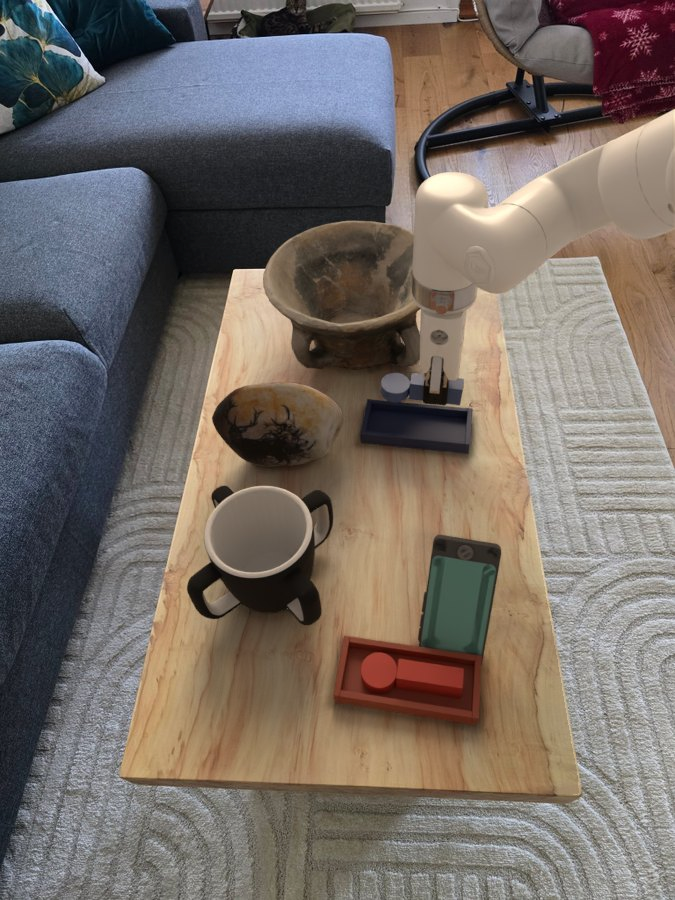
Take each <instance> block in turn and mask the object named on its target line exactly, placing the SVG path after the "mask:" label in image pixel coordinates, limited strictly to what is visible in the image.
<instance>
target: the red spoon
mask: <svg viewBox="0 0 675 900" xmlns="http://www.w3.org/2000/svg"><path fill="white" fill-rule="evenodd" d="M463 676H464V668H457V667H450V666H444V665H437V664H430V663H424V662H417V661H410V660H404V659H399V660H398V668H397V665H396V663H395V661H394V660H393V658H392V657H390V656H389V655H387V654H385V653H380V652H378V653H373V654H370V655H369V656H367V657H366V658H365V659H364V661H363V662H362V665H361V679H362V682H363V685H364V686H365V687H366V688H367V689H368V690H369V691H370V692H373V693H376V694H383V693H386V692H389V691H390V690H391V689H392V688H393V687H394V686H395V684H396V689H403V690H409V691H415V692H422V693H428V694H434V695H441V696H447V697H454V698H461V694H462V689H463Z"/></svg>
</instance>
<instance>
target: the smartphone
mask: <svg viewBox="0 0 675 900" xmlns="http://www.w3.org/2000/svg"><path fill="white" fill-rule="evenodd" d="M432 540H433V541H432V548H431V554H430V562H429V569H428V576H427V582H426V583H427V584H426V590H425V592H424V593H423V598H422V605H421V612H422V613H421V615H420V621H419V627H418V628H419V629H418V634H417V640H418V646H419V647H425V648H432V649H439V650H446V651H453V652H459V653H466V654H473V655H480V656H482V662H481V667H482V666H483V662H484V661H483V660H484V655H485V650H486V645H487V638H488V634H489V633H488V632H489V627H490V622H491V621H490V620H491V615H492V610H493V605H494V599H495V593H496V586H497V580H498V575H499V570H500V564H501V558H502V548H501V547H502V546H501V545H499V544H498V543H494V542H488V541H482V540H478V539H477V540H476V539H470V538H464V537H458V536H452V535H447V534H446V535H445V534H436V535H435V536H434V537H433V539H432Z"/></svg>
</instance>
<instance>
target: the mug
mask: <svg viewBox="0 0 675 900" xmlns="http://www.w3.org/2000/svg"><path fill="white" fill-rule="evenodd" d="M210 498H211V501H212V505H213V508H214V509H213V510H212V512H211V514H210V515H209V517H208V519H207V521H206V524H205V527H204V532H203V544H204V548H205V551H206V554H207V556H208V558H209V563H207V564H206V565H204V566H203V567H202V568H200V569H199V570H198V571H197V572H195V573H194V574H192V575H191V576H190V578H189V579H188V581H187V585H186V592H187V595H188V597H189V599H190V601H191V603H192V604H193V607H194V609H195V610H196V611H197V612H198V613H199V614H200V615H201V616H202V617H204V618H207V619H210V620H219V619H222V618H224V617H226V616H227V615H228V614H230V613H231V612H233V611H234V610H235V609H237V608H239V607H240V606H241V605H243V606H244V607H246V608H248V609H249V610H252V611H254V612H257V613H262V614H275V613H281V612H283V611H285V610H288V611H289V612H290V613H291V615H292V616H293V617H294V618H295V619H296V620H297V621H298V623H300V624H301V625H302V626H305V627H308V626H309V627H310V626H312V625H314V624H316V622H317V621H319V620H320V618H321V616H322V611H323V608H322V601H321V597H320V593H319V590H318V588H317V587H316V585H315V584H314V582H313V581H312V576H313V572H314V571H313V570H314V565H315V553H316V549H317V548H319V547H321V545H322V544H323V543H325V541H326V540H327V539H328V538H329V536H330V535H331V532H332V529H333V526H334V510H333V509H334V508H333V502H332V499H331V497H330V495H328V493H326V492H325V491H323V490H322V489H321V490H320V489H314V490H312V491H311V492H309V493H308V494H306V495H304V496H303V497H301V498H300V496H298V495H296V494H295V493H294V492H291V491H289V490H288V489H284V488H282V487H278V486H273V485H257V486H256V485H255V486H250V487H246V488H243V489H241V490H238V491H236V492H234V491H233V490H232V488H231V487H230V486H228V485H220V486H218V487H216V488H215V489H214V490H213V491H212V493H211V497H210ZM316 510H317V513H318V514H317V515H318V516H317V520H316V523H315V525H314V521H313V518H312V513H313V512H315V511H316ZM218 580H220V581H221V582H222V584H223V585H224V586H225V587H226V589H227V590H228V591H227V592H225V593H224V594H223V595H221V596H220V597H218V598H217V599H215V600H213V601H211V602H208V600H207V598H206V595H205V594H204V591H206V590H207V589H208V588H209V587H210V586H212V585H213V584H215V583H216V582H218Z"/></svg>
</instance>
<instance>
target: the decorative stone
mask: <svg viewBox="0 0 675 900" xmlns="http://www.w3.org/2000/svg"><path fill="white" fill-rule="evenodd" d="M211 421H212V424H213V426H214V429H215V431H216V432H217V434H218V435H219V437H220V438H221V440H223V441H224V443H225V444H226V445H227V446H228V447H229V449H231V450H232V451H233V453H235V454H236V455H237V456H238V457H239V458H240V459H242V460H243V461H245V462H247V463H250V464H252V465H255V466H259V467H281V466H282V467H283V466H284V467H285V466H298V465H303V464H307V463H309V462H311V461H313V460H318V459H321V458H322V457H325V456H326V455H327V453H329V450H330V448H331V446H332V445H333V444H334V443H335V441H336V439H337V437H338V436H339V433H340V431H341V429H342V427H343V424H344V423H343V422H344V415H343V411H342V410H341V408H340V406H339V405H338V404H337V403H336V402H335V401H334V400H333V398H331V397H329V396H328V395H327V394H325V393H323V392H321V391H320V390H318V389H316V388H313V387H311V386H308V385H305V384H302V383H297V382H290V381H275V382H266V383H258V384H256V383H255V384H247V385H243V386H241V387H237V388H236V389H234V390H233V391H231V392H229V393H228V394H227V395H226V396H225V397H224V398H223V399H222V400H221V401H220V402H219V403H218V404H217V406H216V407H215V409H214V411H213V414H212V416H211Z"/></svg>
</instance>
